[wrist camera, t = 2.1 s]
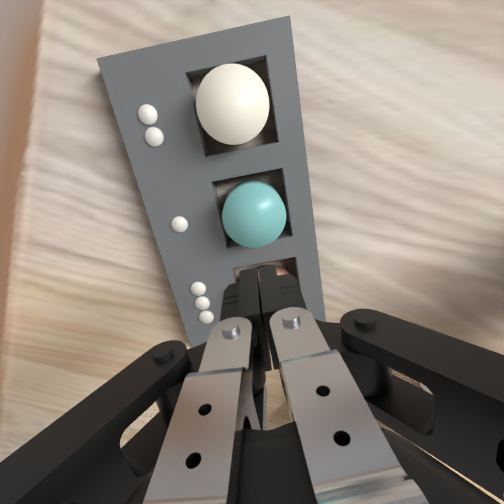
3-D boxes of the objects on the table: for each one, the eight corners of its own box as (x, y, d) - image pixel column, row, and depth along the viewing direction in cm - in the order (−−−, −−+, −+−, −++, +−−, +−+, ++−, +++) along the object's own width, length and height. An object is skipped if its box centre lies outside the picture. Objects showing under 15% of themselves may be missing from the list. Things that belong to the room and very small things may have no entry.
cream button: (260, 65, 22) (262, 56, 20) (271, 136, 24) (274, 137, 21) (194, 79, 23) (187, 72, 20) (210, 148, 24) (206, 151, 22)
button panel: (286, 25, 23) (290, 14, 21) (321, 314, 32) (326, 326, 30) (108, 64, 23) (95, 58, 21) (193, 335, 33) (190, 349, 31)
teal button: (277, 174, 25) (280, 179, 22) (285, 230, 27) (290, 241, 24) (218, 185, 25) (215, 192, 23) (231, 240, 27) (229, 252, 25)
